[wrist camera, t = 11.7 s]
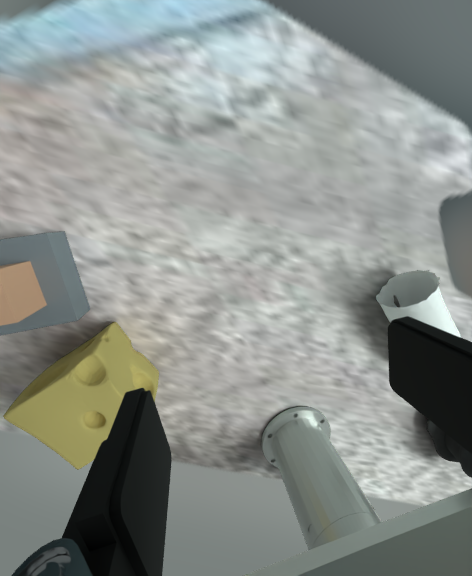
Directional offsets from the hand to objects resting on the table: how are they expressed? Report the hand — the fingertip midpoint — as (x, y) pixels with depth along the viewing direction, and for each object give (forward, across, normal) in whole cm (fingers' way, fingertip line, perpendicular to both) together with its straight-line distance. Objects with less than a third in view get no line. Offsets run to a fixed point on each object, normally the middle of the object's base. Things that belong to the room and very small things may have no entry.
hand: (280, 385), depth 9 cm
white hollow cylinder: (+27, -30, +15) cm, 43 cm away
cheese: (+27, +17, +10) cm, 33 cm away
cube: (+22, +22, -4) cm, 31 cm away
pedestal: (+26, +22, -4) cm, 34 cm away
